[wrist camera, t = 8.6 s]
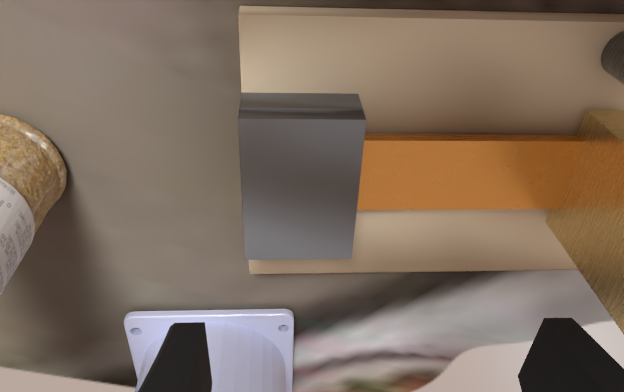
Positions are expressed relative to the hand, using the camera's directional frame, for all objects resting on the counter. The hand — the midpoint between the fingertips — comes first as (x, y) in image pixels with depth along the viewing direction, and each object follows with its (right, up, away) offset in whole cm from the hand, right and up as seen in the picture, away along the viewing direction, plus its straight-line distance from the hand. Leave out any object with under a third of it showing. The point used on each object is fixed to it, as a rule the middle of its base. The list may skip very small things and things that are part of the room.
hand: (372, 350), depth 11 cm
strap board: (+6, +5, +10) cm, 12 cm away
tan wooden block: (+5, +4, +8) cm, 11 cm away
